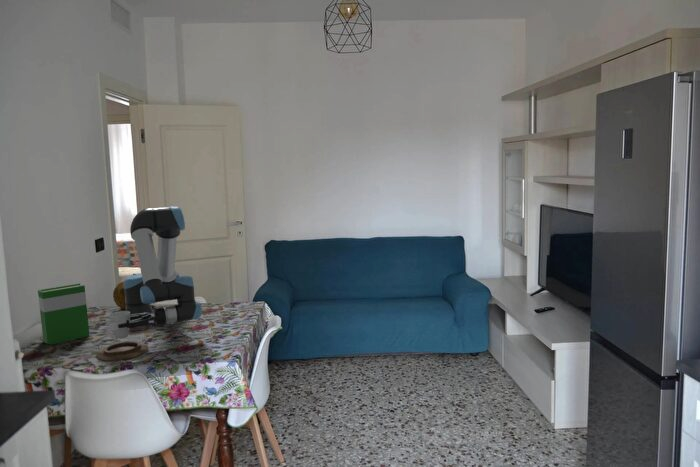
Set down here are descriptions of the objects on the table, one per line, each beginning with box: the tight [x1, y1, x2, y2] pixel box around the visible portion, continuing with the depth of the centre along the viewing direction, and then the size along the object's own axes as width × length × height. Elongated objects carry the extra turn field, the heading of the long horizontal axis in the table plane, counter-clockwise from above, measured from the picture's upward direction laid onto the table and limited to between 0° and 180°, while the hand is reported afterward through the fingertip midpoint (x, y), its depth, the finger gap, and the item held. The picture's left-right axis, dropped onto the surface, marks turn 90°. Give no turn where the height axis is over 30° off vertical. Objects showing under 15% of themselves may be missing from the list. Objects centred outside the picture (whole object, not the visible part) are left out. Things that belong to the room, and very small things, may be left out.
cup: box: [108, 310, 131, 340], centre depth 227 cm, size 8×8×10 cm
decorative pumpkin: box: [112, 273, 152, 310], centre depth 303 cm, size 20×21×20 cm
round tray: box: [96, 340, 149, 362], centre depth 229 cm, size 20×20×2 cm
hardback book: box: [37, 283, 91, 345], centre depth 250 cm, size 18×7×24 cm, turn 133°
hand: (107, 325), depth 225 cm, fingers closed on cup, 8 cm apart
